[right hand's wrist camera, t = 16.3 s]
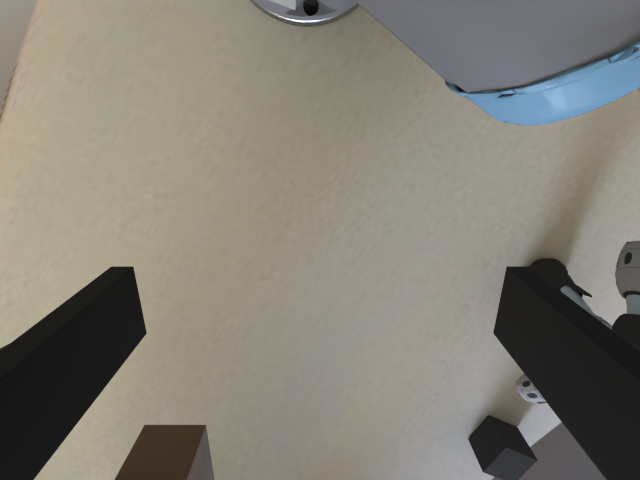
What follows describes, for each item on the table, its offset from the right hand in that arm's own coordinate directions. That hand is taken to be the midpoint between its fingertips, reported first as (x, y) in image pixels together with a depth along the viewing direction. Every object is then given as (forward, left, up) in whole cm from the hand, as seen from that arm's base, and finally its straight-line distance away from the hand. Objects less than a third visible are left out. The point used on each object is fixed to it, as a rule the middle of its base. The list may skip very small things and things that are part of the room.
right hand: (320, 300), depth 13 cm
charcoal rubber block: (+11, +43, -27) cm, 52 cm away
